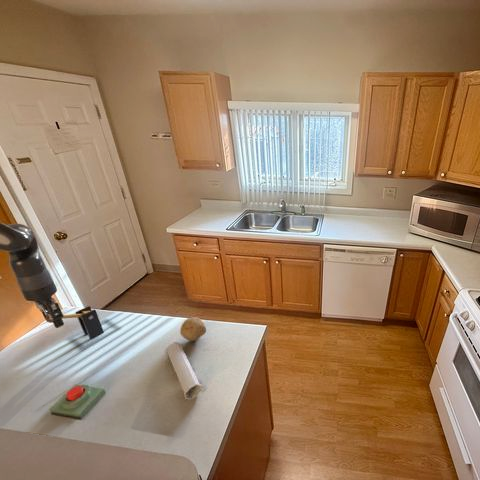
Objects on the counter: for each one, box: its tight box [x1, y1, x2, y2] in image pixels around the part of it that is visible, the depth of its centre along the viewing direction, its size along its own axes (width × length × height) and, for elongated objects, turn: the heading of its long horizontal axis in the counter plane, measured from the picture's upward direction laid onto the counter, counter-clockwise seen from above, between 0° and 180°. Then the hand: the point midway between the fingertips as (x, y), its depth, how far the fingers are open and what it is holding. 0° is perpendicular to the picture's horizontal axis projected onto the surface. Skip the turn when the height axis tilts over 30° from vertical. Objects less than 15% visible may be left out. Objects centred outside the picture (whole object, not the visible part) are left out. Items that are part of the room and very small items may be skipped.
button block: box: [48, 383, 107, 420], centre depth 78 cm, size 10×8×4 cm
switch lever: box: [45, 311, 90, 324], centre depth 94 cm, size 13×3×3 cm
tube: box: [166, 341, 203, 401], centre depth 90 cm, size 5×5×25 cm
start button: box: [65, 386, 84, 401], centre depth 77 cm, size 4×4×2 cm
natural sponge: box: [179, 316, 207, 342], centre depth 103 cm, size 9×9×10 cm
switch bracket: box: [74, 305, 105, 340], centre depth 100 cm, size 12×10×13 cm
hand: (54, 322), depth 90 cm, fingers open, 7 cm apart
